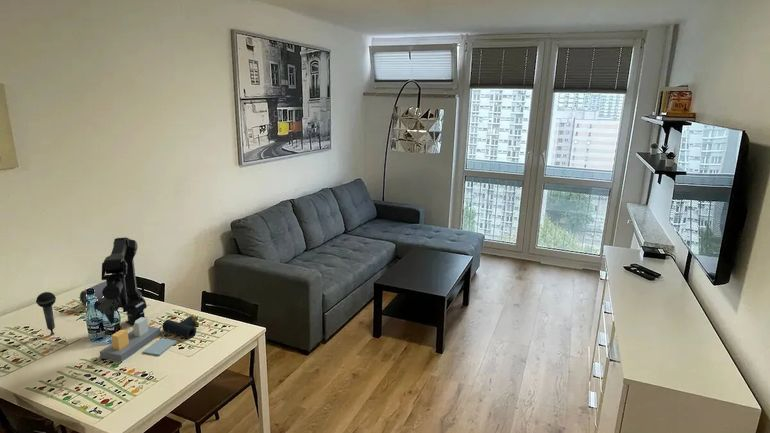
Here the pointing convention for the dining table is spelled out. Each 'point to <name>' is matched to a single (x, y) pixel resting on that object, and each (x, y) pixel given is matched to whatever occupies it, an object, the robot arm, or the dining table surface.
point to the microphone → (47, 308)
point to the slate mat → (160, 346)
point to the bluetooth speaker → (98, 292)
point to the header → (130, 345)
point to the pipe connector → (182, 327)
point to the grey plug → (140, 326)
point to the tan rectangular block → (120, 339)
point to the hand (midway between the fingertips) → (122, 324)
